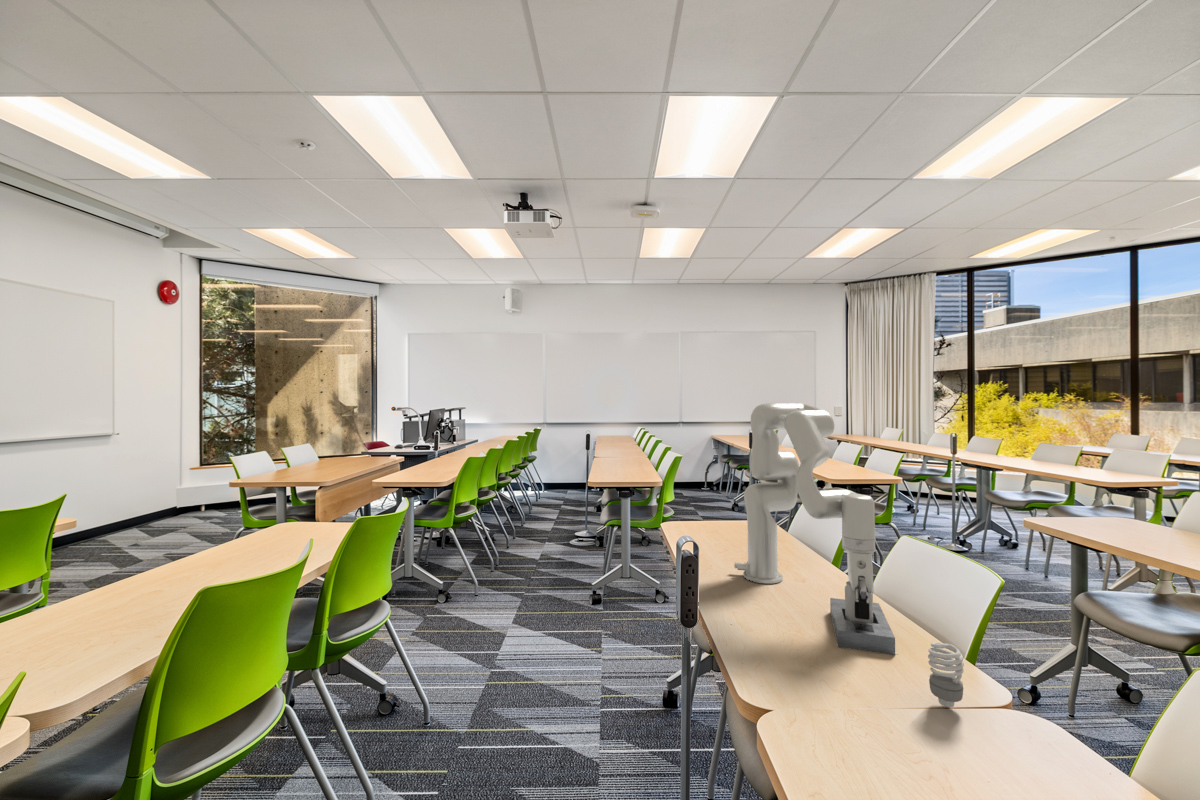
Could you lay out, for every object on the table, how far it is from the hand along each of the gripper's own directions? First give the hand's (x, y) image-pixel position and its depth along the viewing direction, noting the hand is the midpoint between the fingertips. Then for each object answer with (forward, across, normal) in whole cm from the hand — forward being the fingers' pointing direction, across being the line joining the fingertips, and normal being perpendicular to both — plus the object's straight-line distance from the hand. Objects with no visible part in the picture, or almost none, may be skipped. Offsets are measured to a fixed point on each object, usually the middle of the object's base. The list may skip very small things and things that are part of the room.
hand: (859, 611), depth 129 cm
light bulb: (+5, -31, -11) cm, 33 cm away
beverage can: (+5, 0, 0) cm, 5 cm away
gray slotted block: (+5, 0, 0) cm, 5 cm away
